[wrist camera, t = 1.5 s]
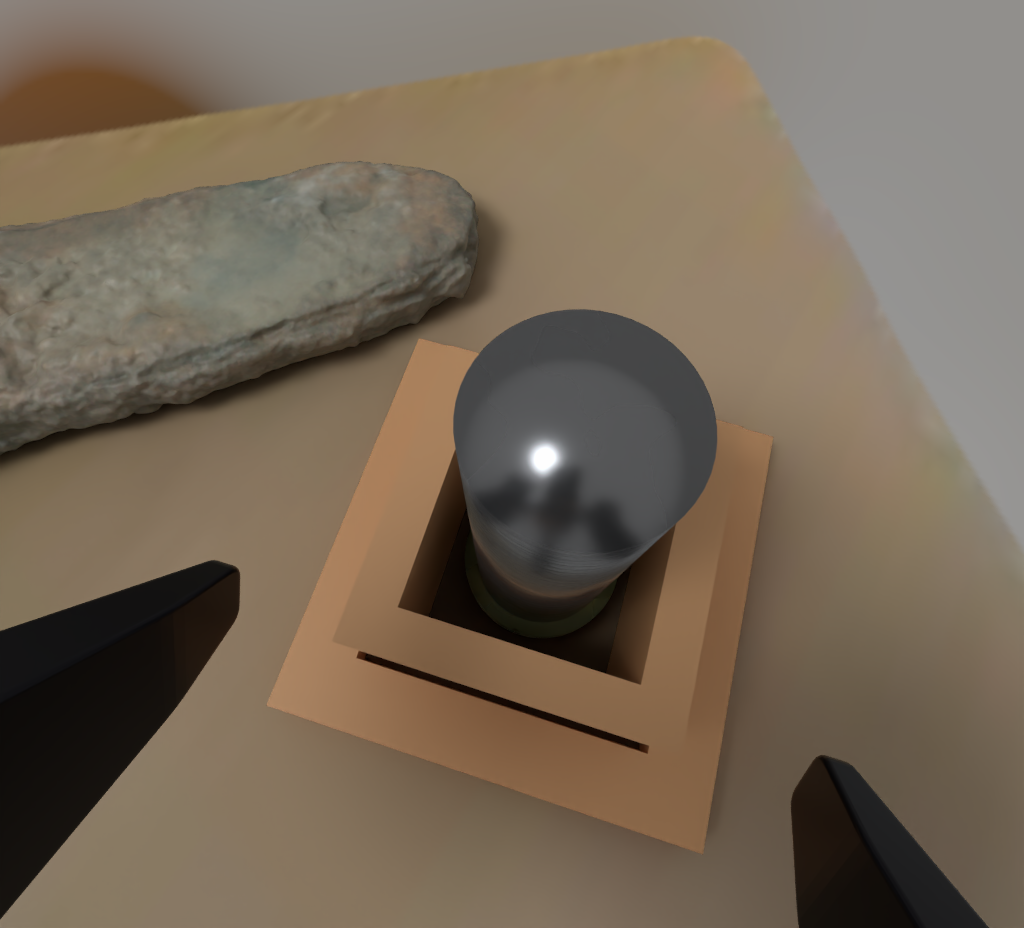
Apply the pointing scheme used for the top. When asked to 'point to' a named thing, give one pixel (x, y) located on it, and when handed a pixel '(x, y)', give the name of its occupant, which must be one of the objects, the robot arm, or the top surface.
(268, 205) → the elongated rock
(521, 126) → the top surface
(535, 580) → the cylinder
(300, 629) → the orange square socket base
